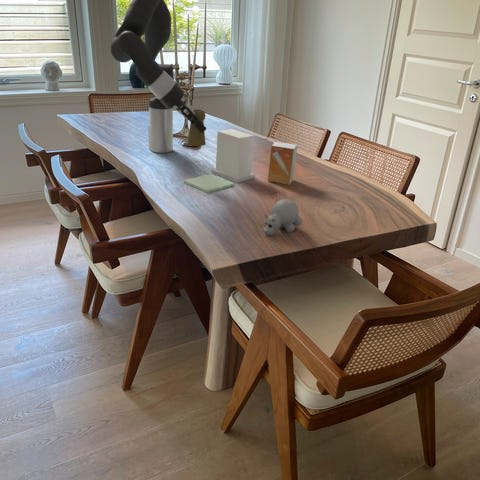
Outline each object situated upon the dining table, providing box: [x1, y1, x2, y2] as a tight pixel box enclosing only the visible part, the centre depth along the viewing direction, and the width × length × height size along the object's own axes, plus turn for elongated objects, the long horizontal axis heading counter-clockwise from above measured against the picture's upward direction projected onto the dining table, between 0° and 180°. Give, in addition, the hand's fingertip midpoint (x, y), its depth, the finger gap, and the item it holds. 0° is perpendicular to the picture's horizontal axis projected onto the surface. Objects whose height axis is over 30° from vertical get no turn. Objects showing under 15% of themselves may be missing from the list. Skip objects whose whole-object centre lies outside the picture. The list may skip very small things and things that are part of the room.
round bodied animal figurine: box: [262, 198, 303, 236], centre depth 123 cm, size 7×12×8 cm, turn 129°
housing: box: [211, 128, 256, 184], centre depth 162 cm, size 13×9×15 cm
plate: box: [183, 173, 235, 194], centre depth 155 cm, size 12×12×1 cm
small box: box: [267, 141, 298, 186], centre depth 160 cm, size 8×6×13 cm
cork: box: [187, 108, 206, 147], centre depth 150 cm, size 6×6×11 cm
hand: (202, 128), depth 151 cm, fingers closed on cork, 5 cm apart
